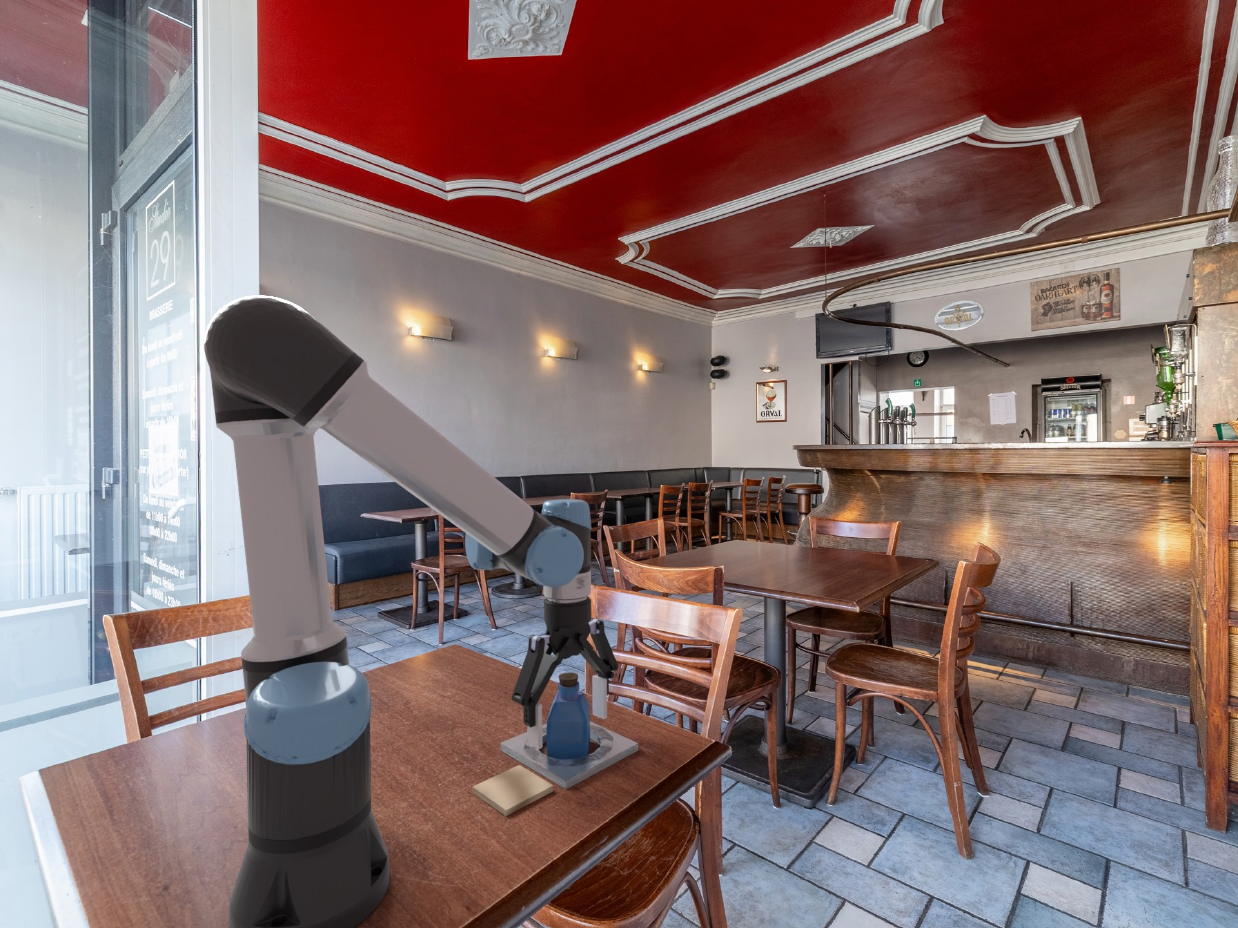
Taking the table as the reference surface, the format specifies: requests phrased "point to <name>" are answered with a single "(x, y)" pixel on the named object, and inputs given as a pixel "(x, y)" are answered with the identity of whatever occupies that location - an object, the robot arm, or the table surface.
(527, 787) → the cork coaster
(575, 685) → the perfume bottle
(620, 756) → the eye plate
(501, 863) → the table surface
